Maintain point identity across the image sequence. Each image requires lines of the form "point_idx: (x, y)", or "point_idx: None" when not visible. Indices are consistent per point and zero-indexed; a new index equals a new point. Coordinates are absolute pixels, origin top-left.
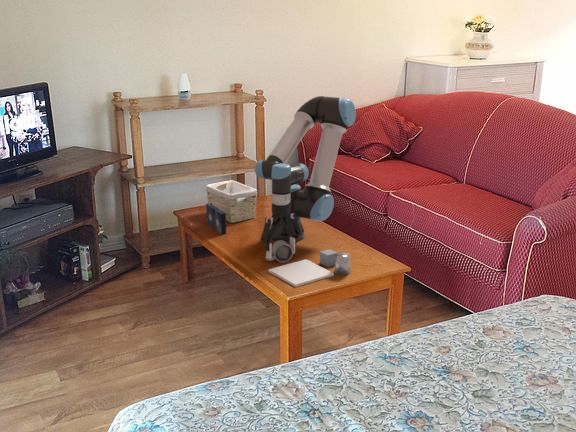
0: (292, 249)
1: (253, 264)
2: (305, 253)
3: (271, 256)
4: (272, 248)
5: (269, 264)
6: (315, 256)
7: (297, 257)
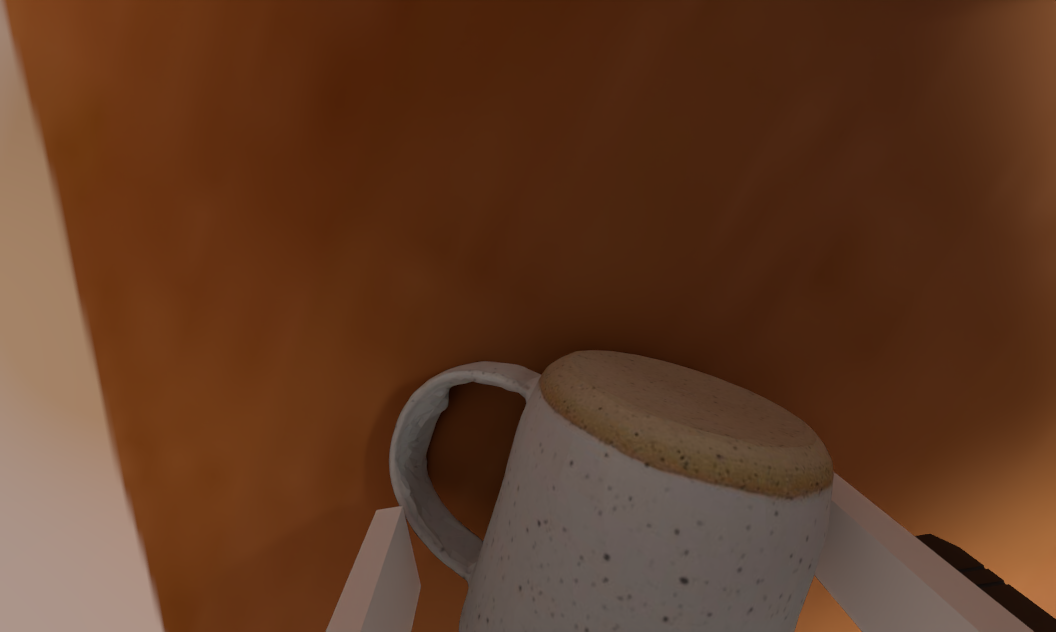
0: None
1: (211, 478)
2: (952, 440)
3: (412, 614)
4: (514, 471)
5: None
6: None
7: None
